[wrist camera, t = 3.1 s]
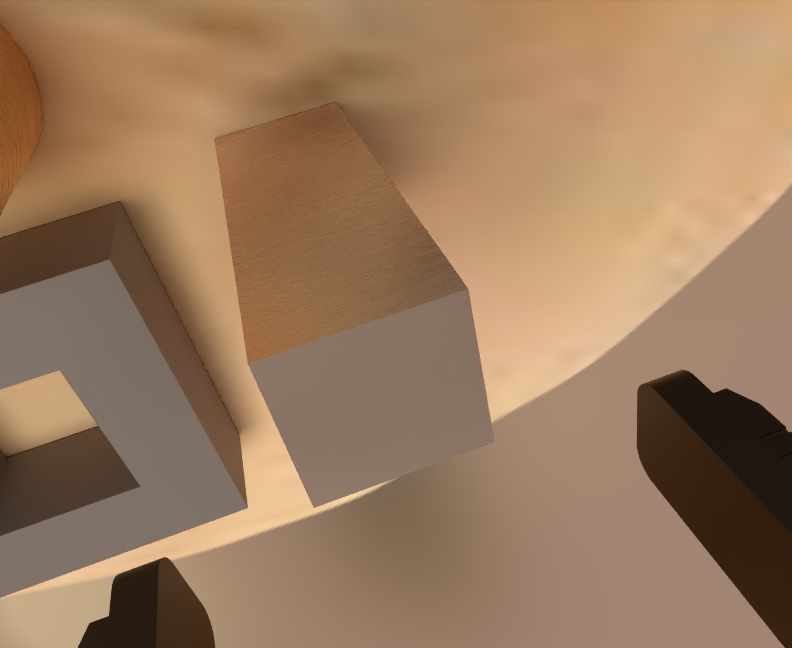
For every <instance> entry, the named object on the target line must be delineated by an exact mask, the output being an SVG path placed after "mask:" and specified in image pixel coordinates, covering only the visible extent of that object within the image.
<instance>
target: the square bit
mask: <svg viewBox="0 0 792 648" xmlns="http://www.w3.org/2000/svg"><path fill="white" fill-rule="evenodd" d="M215 145H216V152H217V158H218V165H219V172H220V179H221V185H222V192H223V199H224V206H225V212H226V219H227V226H228V232H229V239H230V246H231V253H232V259H233V266H234V273H235V280H236V286H237V293H238V300H239V307H240V313H241V320H242V327H243V334H244V340H245V347H246V354H247V361H248V365H249V367H250V369H251V371H252V374H253V376H254V378H255V380H256V382H257V385H258V387H259V389H260V391H261V393H262V395H263V398H264V400H265V402H266V404H267V406H268V409H269V411H270V413H271V415H272V417H273V420H274V422H275V424H276V426H277V428H278V430H279V433H280V435H281V437H282V439H283V441H284V444H285V446H286V448H287V450H288V452H289V454H290V457H291V459H292V461H293V463H294V465H295V468H296V470H297V472H298V474H299V476H300V479H301V481H302V483H303V485H304V487H305V489H306V492H307V494H308V496H309V498H310V500H311V503H312V505H313V507H314V508H315V507H318V506H320V505H323V504H326V503H328V502H331V501H334V500H337V499H339V498H342V497H345V496H348V495H350V494H353V493H356V492H359V491H361V490H364V489H367V488H369V487H372V486H375V485H378V484H380V483H383V482H386V481H389V480H391V479H394V478H397V477H400V476H402V475H405V474H408V473H410V472H413V471H416V470H418V469H421V468H424V467H427V466H429V465H432V464H435V463H438V462H440V461H443V460H446V459H448V458H451V457H454V456H457V455H460V454H462V453H465V452H468V451H471V450H473V449H476V448H479V447H481V446H484V445H487V444H489V443H492V442H494V437H493V431H492V425H491V419H490V413H489V408H488V402H487V396H486V390H485V384H484V378H483V373H482V367H481V361H480V355H479V349H478V344H477V338H476V332H475V326H474V320H473V315H472V309H471V303H470V297H469V291H468V288H467V287H466V285H465V284H464V282H463V281H462V280H461V278H460V277H459V275H458V274H457V273H456V271H455V270H454V268H453V267H452V265H451V264H450V263H449V261H448V260H447V258H446V257H445V256H444V254H443V253H442V251H441V250H440V249H439V247H438V246H437V244H436V243H435V242H434V240H433V239H432V237H431V236H430V235H429V233H428V232H427V230H426V229H425V227H424V226H423V225H422V223H421V222H420V220H419V219H418V218H417V216H416V215H415V213H414V212H413V211H412V209H411V208H410V206H409V205H408V204H407V202H406V201H405V199H404V198H403V197H402V195H401V194H400V192H399V191H398V190H397V188H396V187H395V185H394V184H393V182H392V181H391V180H390V178H389V177H388V175H387V174H386V173H385V171H384V170H383V168H382V167H381V166H380V164H379V163H378V161H377V160H376V159H375V157H374V156H373V154H372V153H371V152H370V150H369V149H368V147H367V146H366V144H365V143H364V142H363V140H362V139H361V137H360V136H359V135H358V133H357V132H356V130H355V129H354V128H353V126H352V125H351V123H350V122H349V121H348V119H347V118H346V116H345V115H344V114H343V112H342V111H341V109H340V108H339V106H338V105H337V104H336V102H334V103H331V104H328V105H324V106H321V107H318V108H315V109H311V110H308V111H305V112H301V113H298V114H295V115H292V116H288V117H285V118H282V119H278V120H275V121H272V122H269V123H265V124H262V125H259V126H256V127H252V128H249V129H246V130H242V131H239V132H236V133H233V134H229V135H226V136H223V137H219V138H216V139H215Z"/></svg>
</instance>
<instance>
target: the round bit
mask: <svg viewBox="0 0 792 648" xmlns="http://www.w3.org/2000/svg"><path fill="white" fill-rule="evenodd" d="M41 125H42V103H41V97H40V92H39V88H38V85H37V82H36V79H35V76H34V74H33V71H32V69H31V67H30V65H29V63H28V61H27V59H26V58H25V56H24V54H23V53H22V51H21V49H20V48H19V46H18V45H17V44H16V43H15V41H14V40H13V39H12V37H11V36H10V35H9V34H8V33H7V31H6V30H5V29H4V28H3V27H2V26H1V25H0V215H1V213H2V211H3V209H4V207H5V205H6V204H7V202H8V200H9V198H10V196H11V194H12V192H13V190H14V188H15V186H16V184H17V183H18V181H19V179H20V177H21V175H22V173H23V171H24V169H25V167H26V165H27V163H28V161H29V160H30V158H31V156H32V154H33V152H34V149H35V147H36V145H37V143H38V139H39V136H40V132H41Z"/></svg>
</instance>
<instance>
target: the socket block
mask: <svg viewBox="0 0 792 648" xmlns="http://www.w3.org/2000/svg"><path fill="white" fill-rule="evenodd" d="M58 370H60V371H61V372H62V374H63V375H64V377H65V378H66V380H67V381H68V383H69V384H70V385H71V387H72V388H73V390H74V391H75V393H76V394H77V396H78V397H79V398H80V400H81V401H82V403H83V404H84V406H85V407H86V409H87V410H88V411H89V413H90V414H91V416H92V417H93V419H94V420H95V422H96V423H97V424H98V427H95V428H92V429H89V430H87V431H84V432H81V433H78V434H75V435H72V436H69V437H66V438H63V439H60V440H57V441H54V442H51V443H48V444H46V445H43V446H40V447H37V448H34V449H31V450H28V451H25V452H22V453H19V454H16V455H13V456H10V457H8V458H6V457H5V456H4V455H3V454H2V452H1V451H0V598H1V597H3V596H6V595H9V594H12V593H14V592H17V591H20V590H23V589H25V588H28V587H31V586H34V585H36V584H39V583H42V582H45V581H48V580H50V579H53V578H56V577H59V576H61V575H64V574H67V573H70V572H72V571H75V570H78V569H81V568H83V567H86V566H89V565H92V564H94V563H97V562H100V561H103V560H106V559H108V558H111V557H114V556H117V555H119V554H122V553H125V552H128V551H130V550H133V549H136V548H139V547H141V546H144V545H147V544H150V543H152V542H155V541H158V540H161V539H164V538H166V537H169V536H172V535H175V534H177V533H180V532H183V531H186V530H188V529H191V528H194V527H197V526H199V525H202V524H205V523H208V522H210V521H213V520H216V519H219V518H222V517H224V516H227V515H230V514H233V513H235V512H238V511H241V510H244V509H246V508H248V506H247V497H246V488H245V479H244V470H243V462H242V453H241V444H240V435H239V433H238V431H237V429H236V427H235V425H234V423H233V421H232V419H231V417H230V415H229V413H228V411H227V410H226V408H225V406H224V404H223V402H222V400H221V398H220V396H219V394H218V392H217V390H216V388H215V386H214V384H213V382H212V380H211V378H210V376H209V374H208V372H207V370H206V369H205V367H204V365H203V363H202V361H201V359H200V357H199V355H198V353H197V351H196V349H195V347H194V345H193V343H192V341H191V339H190V337H189V335H188V333H187V331H186V330H185V328H184V326H183V324H182V322H181V320H180V318H179V316H178V314H177V312H176V310H175V308H174V306H173V304H172V302H171V300H170V298H169V296H168V294H167V292H166V290H165V289H164V287H163V285H162V283H161V281H160V279H159V277H158V275H157V273H156V271H155V269H154V267H153V265H152V263H151V261H150V259H149V257H148V255H147V253H146V251H145V249H144V248H143V246H142V244H141V242H140V240H139V238H138V236H137V234H136V232H135V230H134V228H133V226H132V224H131V222H130V220H129V218H128V216H127V214H126V212H125V210H124V208H123V207H122V205H121V203H120V201H119V202H116V203H113V204H109V205H106V206H103V207H100V208H96V209H93V210H90V211H87V212H83V213H80V214H77V215H74V216H71V217H67V218H64V219H61V220H58V221H54V222H51V223H48V224H45V225H41V226H38V227H35V228H32V229H29V230H25V231H22V232H19V233H16V234H12V235H9V236H6V237H3V238H0V389H3V388H6V387H9V386H12V385H15V384H18V383H21V382H24V381H27V380H30V379H33V378H36V377H39V376H43V375H46V374H49V373H52V372H55V371H58Z"/></svg>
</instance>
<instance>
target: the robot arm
mask: <svg viewBox="0 0 792 648" xmlns="http://www.w3.org/2000/svg"><path fill="white" fill-rule="evenodd" d="M637 450H638V454H639V458H640V460H641V463H642V465H643V468H644V470H645V471H646V473H647V475H648V477H649V478H650V480H651V481H652V482H653V483H654V484H655V486H656V487H657V488H658V490H659V491H660V492H661V493H662V495H663V496H664V497H665V499H666V500H667V501H668V502H669V503H670V505H671V506H672V507H673V509H674V510H675V511H676V512H677V513H678V515H679V516H680V517H681V519H683V521H684V522H685V524H686V525H687V526H688V527H689V529H690V530H691V531H692V532H693V534H694V535H695V536H696V537H697V539H698V540H699V541H700V542H701V544H702V545H703V546H704V547H705V548H706V550H707V551H708V552H709V554H710V555H711V556H712V557H713V559H714V560H715V561H716V562H717V564H718V565H719V566H720V567H721V569H722V570H723V571H724V572H725V574H726V575H727V576H728V577H729V579H730V580H731V581H732V582H733V584H734V585H735V586H736V587H737V589H738V590H739V591H740V592H741V594H742V595H743V596H744V597H745V599H746V600H747V601H748V602H749V604H750V605H751V606H752V607H753V608H754V610H755V611H756V612H757V614H758V615H759V616H760V617H761V619H762V620H763V621H764V622H765V623H766V625H767V626H768V627H769V629H770V630H771V631H772V632H773V634H774V635H775V636H776V637H777V639H778V640H779V641H780V642H781V644H782V645H783V646H784V647H785V648H792V432H788V431H787V430H786V427H785V426H784V425H783V424H782V423H781V422H780V421H778V420H777V419H776V418H775V417H774V416H773V415H772V414H771V413H770V412H768V411H767V410H766V409H765V408H764V407H763V406H761V405H760V404H759V403H757V402H754V401H752V400H750V399H748V398H746V397H744V396H742V395H739V394H737V393H735V392H733V391H731V390H729V389H724V390H721V391H718V392H715V393H712V392H711V391H710V390H709V389H708V388H707V387H706V386H705V385H704V384H703V383H702V382H701V381H700V380H699V379H698V378H697V377H695V376H694V375H693V374H692V373H690V372H689V371H686V370H680V371H677V372H674V373H672V374H669V375H666V376H663V377H661V378H658V379H655V380H652V381H650V382H647V383H644V384H642V385H640V386H639V388H638V394H637ZM78 648H215V641H214V635H213V630H212V626H211V623H210V620H209V617H208V614H207V612H206V610H205V608H204V606H203V605H202V603H201V602H200V601H199V599H198V598H197V596H196V595H195V594H194V592H193V591H192V590H191V588H190V587H189V586H188V584H187V582H186V581H185V580H184V578H183V577H182V576H181V574H180V573H179V571H178V570H177V568H176V567H175V566H174V564H173V563H172V562H171V560H169V559H168V558H166V557H164V558H161V559H158V560H156V561H153V562H150V563H148V564H145V565H142V566H139V567H137V568H134V569H131V570H128V571H126V572H123V573H120V574H118V575H117V576H116V577H115V578H114V580H113V584H112V590H111V600H110V611H109V616H108V617H105V618H102V619H100V620H97V621H94V622H92V623H89V625H88V628H87V630H86V632H85V634H84V636H83V638H82V640H81V642H80V644H79V646H78Z"/></svg>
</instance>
